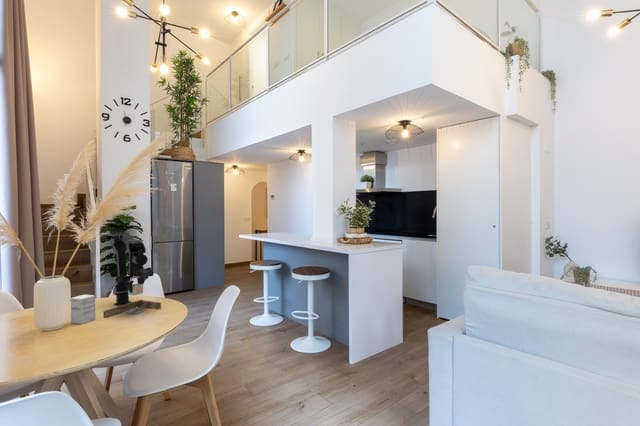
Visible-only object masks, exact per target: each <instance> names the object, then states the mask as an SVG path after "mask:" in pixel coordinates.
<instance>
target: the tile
mask: <svg viewBox="0 0 640 426" xmlns="http://www.w3.org/2000/svg"><path fill="white" fill-rule="evenodd" d="M148 310H149V308H148V309H147V308H142V307H141V308H140V307H138V308H135V309H131V310H128V311H125V312H123V313H124V314H128V313H129V315H137V313H138V314H141V313H143V312H146V311H148ZM140 312H141V313H140Z"/></svg>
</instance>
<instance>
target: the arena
mask: <svg viewBox="0 0 640 426" xmlns="http://www.w3.org/2000/svg"><path fill="white" fill-rule="evenodd" d="M136 307H138V308H140V307H141V308H145V307H146V308H145V309H147V308H148V309H153V310H161V309H162V302H161V301H159V302H158V301H152V300H145V299H144V300H143V299H138V300H135V301H131V303H128V304H124V305H118V306H115V307H112V308H109V309H106V310H103V319H107V318H109V317H113V316H115V315H119V314H122V313H124V312H127V311H130V310H133V309H134V308H135V309H136Z"/></svg>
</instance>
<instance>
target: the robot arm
mask: <svg viewBox="0 0 640 426" xmlns="http://www.w3.org/2000/svg"><path fill="white" fill-rule="evenodd" d="M111 246H112V250H113V251H114V252H115V254H116V264H117V265H116V266H117V267H116V268H117V276H116V278H115V283H114V287H113V289H112V294H113V295H114V296H115V297H116V299H115V300H116V301H115V303H113V305H115V306H122V305H125V304H128V303H132V301H130V300H129V299H130V297H129V296H130V295H128V290H129V292H130V293H132V285H133V283H134V280H133V279H136V281H137V284H143V285H144V284H145V282H146V280H147V279H149V277H153V276H154V271H153V269H152V267H150V266H148V267H146V268H145V267H144V265H146V264H147V263H148V260H149V259H148V256H147V255H145V254H146V252H147V249H146V246H145V244H144V242H143V241H142V240H141V239H136V238H134V237H133V236H132V235H131V234H130V232H120V233H118V234H117V235H115V236H114V237H113V238H112V240H111ZM126 252H127V253H128V265H127V260H126V259H127V257H126V256H127V255H126ZM127 268H128V269H127ZM128 271H129V272H128Z"/></svg>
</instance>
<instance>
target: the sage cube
mask: <svg viewBox="0 0 640 426" xmlns="http://www.w3.org/2000/svg"><path fill="white" fill-rule="evenodd" d="M142 294H144V284H138V283H134V284H132V293H130V292H129V290H128V296H138V295H142Z"/></svg>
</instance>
